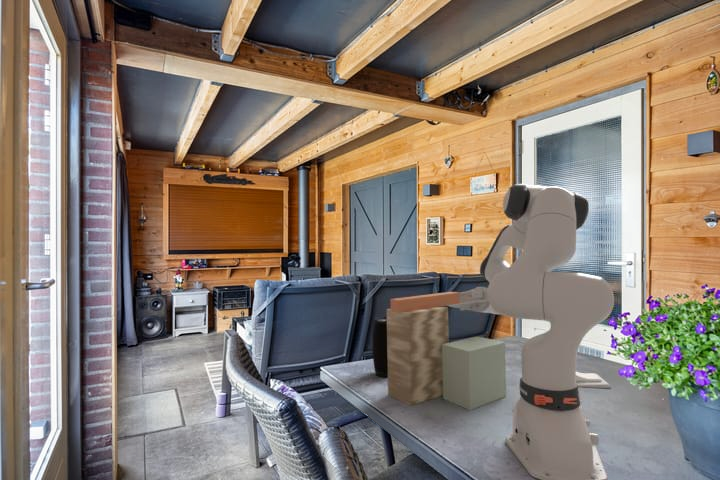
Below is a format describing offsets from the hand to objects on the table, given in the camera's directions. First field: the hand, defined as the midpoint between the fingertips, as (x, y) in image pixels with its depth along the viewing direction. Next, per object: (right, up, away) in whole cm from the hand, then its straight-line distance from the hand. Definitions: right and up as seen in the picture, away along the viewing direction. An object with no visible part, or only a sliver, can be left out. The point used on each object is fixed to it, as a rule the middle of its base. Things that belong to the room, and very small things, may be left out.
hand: (458, 295), depth 133 cm
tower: (-15, -28, -10) cm, 34 cm away
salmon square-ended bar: (-12, -2, -8) cm, 14 cm away
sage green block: (+1, -28, -14) cm, 32 cm away
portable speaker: (-23, -29, +8) cm, 38 cm away
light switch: (+40, -28, -2) cm, 49 cm away
